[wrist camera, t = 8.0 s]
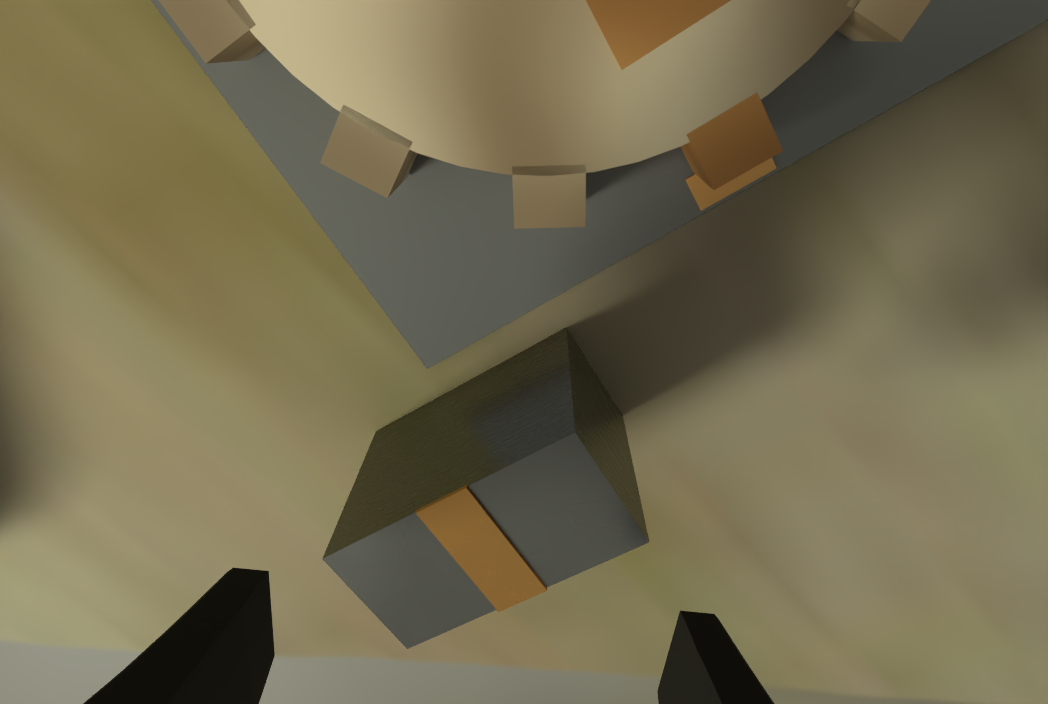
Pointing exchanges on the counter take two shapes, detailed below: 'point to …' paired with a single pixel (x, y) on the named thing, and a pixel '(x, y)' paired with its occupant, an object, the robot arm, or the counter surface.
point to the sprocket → (540, 80)
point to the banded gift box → (490, 495)
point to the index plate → (611, 195)
